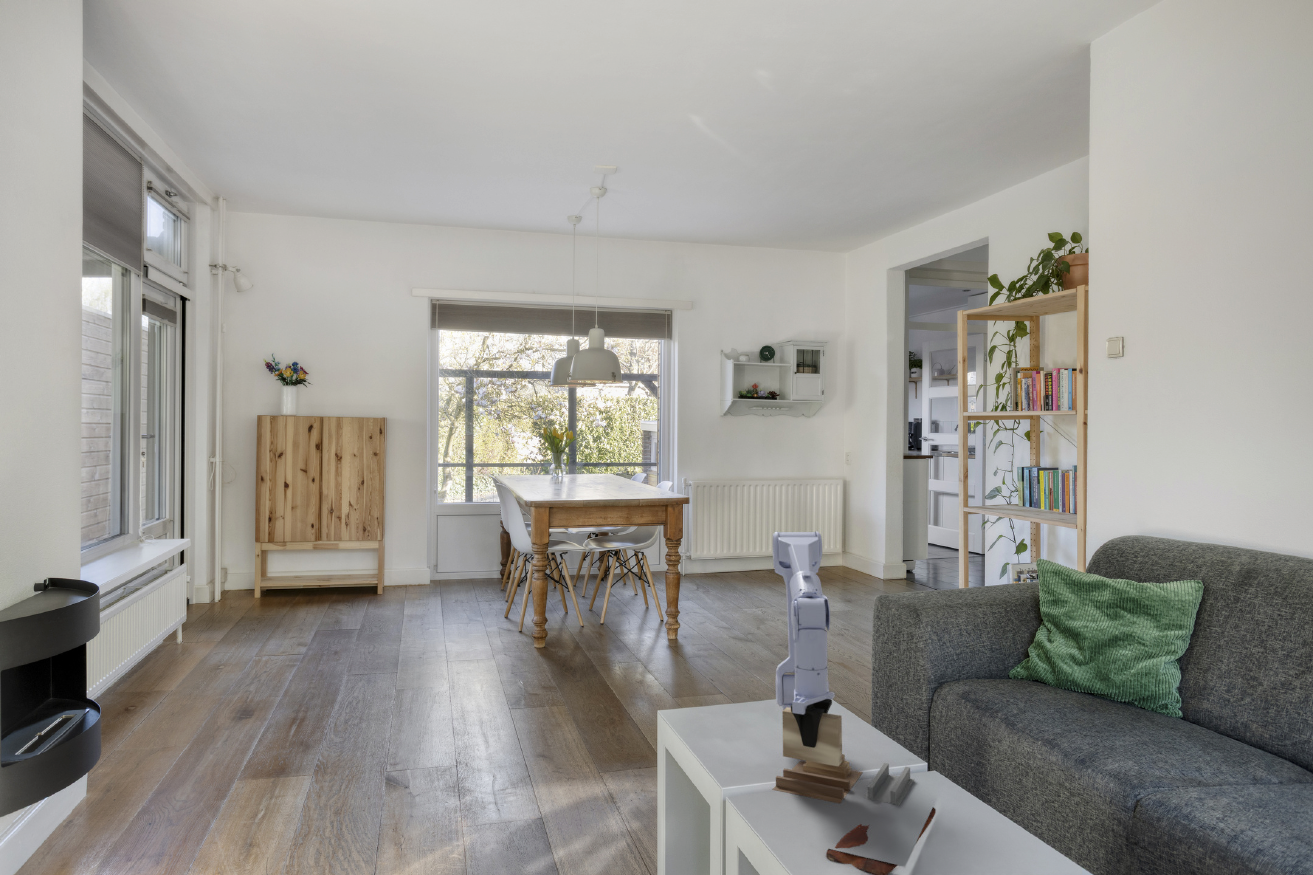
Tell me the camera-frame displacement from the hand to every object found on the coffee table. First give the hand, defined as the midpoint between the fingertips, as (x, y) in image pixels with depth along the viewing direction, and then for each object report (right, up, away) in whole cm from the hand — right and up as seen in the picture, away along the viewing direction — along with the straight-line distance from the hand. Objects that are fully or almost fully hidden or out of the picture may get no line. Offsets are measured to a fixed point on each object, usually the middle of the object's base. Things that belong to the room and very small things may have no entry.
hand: (812, 743), depth 141 cm
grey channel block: (+13, -9, -1) cm, 16 cm away
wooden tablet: (+9, -9, -15) cm, 20 cm away
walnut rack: (+2, -9, +3) cm, 9 cm away
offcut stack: (+4, -8, +7) cm, 11 cm away
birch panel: (0, -3, 0) cm, 3 cm away
